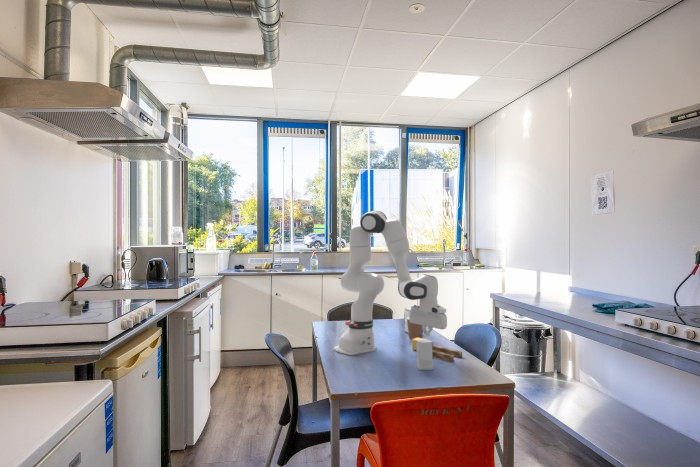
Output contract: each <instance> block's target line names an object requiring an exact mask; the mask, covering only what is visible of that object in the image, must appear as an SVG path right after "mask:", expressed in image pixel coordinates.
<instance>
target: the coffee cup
mask: <svg viewBox="0 0 700 467" xmlns="http://www.w3.org/2000/svg"><path fill="white" fill-rule="evenodd" d="M409 318H410V317H407V324H408V333H407V334H408V338H409V341H411V342H412V339H415V338H422V339H423V336H424V334H423V332H424V331H423V329H422V325H419V324H414V323H410V321H409Z"/></svg>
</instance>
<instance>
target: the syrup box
mask: <svg viewBox="0 0 700 467" xmlns="http://www.w3.org/2000/svg"><path fill="white" fill-rule="evenodd" d="M411 307H412V306H411ZM411 307H404V309H403V331H404V332H405V333H407V334H409V333H408V324H407V317H410V312H411Z"/></svg>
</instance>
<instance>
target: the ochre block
mask: <svg viewBox="0 0 700 467" xmlns="http://www.w3.org/2000/svg"><path fill="white" fill-rule="evenodd" d="M417 340H427V339H426V338H423V337H422V338H415V339H412V341H411V350H414V351H417Z"/></svg>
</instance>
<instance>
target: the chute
mask: <svg viewBox="0 0 700 467" xmlns="http://www.w3.org/2000/svg"><path fill="white" fill-rule="evenodd" d="M432 358H435V359H439V360H443V361H446V362H449V363H452V362H454V361H455V358H459V359H460V358H463V351H462V350H457V349H454V348H449V347H444V346H440V345H436V344H434V343H433V342H432Z"/></svg>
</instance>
